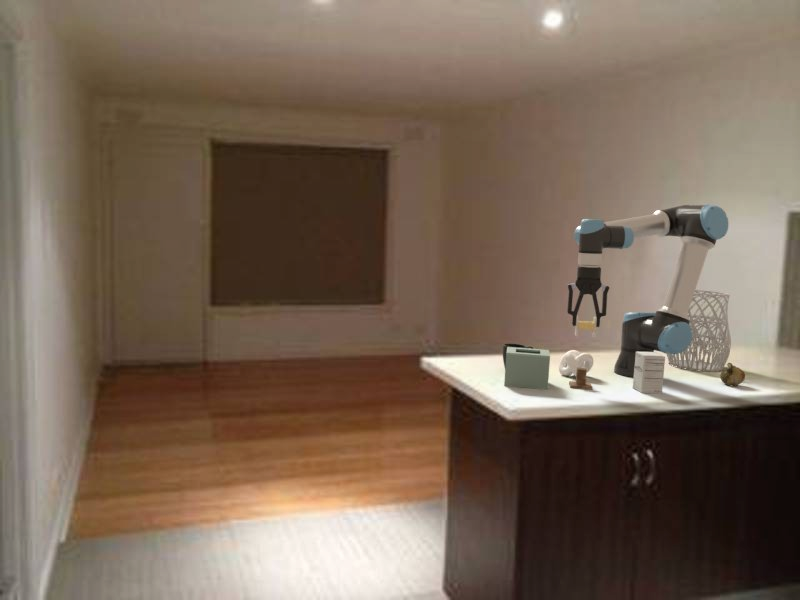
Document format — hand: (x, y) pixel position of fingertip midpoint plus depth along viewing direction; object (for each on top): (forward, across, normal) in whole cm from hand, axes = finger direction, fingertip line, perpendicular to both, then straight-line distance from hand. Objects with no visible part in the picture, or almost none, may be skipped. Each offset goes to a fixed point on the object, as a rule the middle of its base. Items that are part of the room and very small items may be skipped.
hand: (585, 336), depth 249 cm
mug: (+17, +22, -18) cm, 33 cm away
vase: (+19, -48, -58) cm, 77 cm away
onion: (+18, -54, -24) cm, 61 cm away
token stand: (+17, +1, 0) cm, 17 cm away
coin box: (+17, +19, +3) cm, 25 cm away
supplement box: (+18, -21, -2) cm, 28 cm away
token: (-3, 0, 0) cm, 3 cm away
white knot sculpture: (+17, +2, -16) cm, 23 cm away
